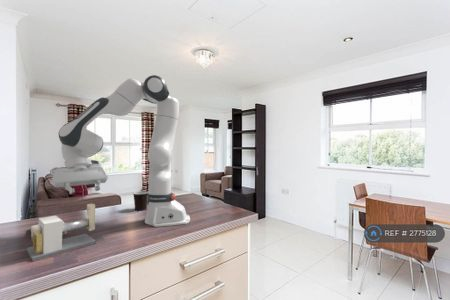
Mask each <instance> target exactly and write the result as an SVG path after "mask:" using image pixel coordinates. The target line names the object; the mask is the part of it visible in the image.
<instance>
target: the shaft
mask: <svg viewBox="0 0 450 300" xmlns="http://www.w3.org/2000/svg"><path fill="white" fill-rule="evenodd" d="M83 228H86V230H88V232H91V231H95V230H96V204H95V203H87V204H86V219H85V218H84V219H81V220H75V221H70V222H64V224H62V232H66V233H67V232H70V231H73V230H79V229H83Z"/></svg>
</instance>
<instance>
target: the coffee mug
mask: <svg viewBox="0 0 450 300" xmlns="http://www.w3.org/2000/svg"><path fill="white" fill-rule="evenodd" d="M148 192H149V191H135V192H133V203H134V210H135V211H136V212H137V211H138V212H141V211H145V210H147V209H148V204H147V196H148Z"/></svg>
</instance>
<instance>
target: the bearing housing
mask: <svg viewBox="0 0 450 300" xmlns="http://www.w3.org/2000/svg"><path fill="white" fill-rule="evenodd" d="M62 220H63V219H61V218H59V216H58V215H50V216H45V217H39V218H38V223H37V225H38V230H39V231H40V232H41V233H42V234H43V239H42V253H40V254H36V253H35V251H34V250H33V246H30V247H26V252H27V254H28V256H29V258H30V260H31V262H35V261H39V260H42V259H46V258H49V257H53V256H57V255H59V254H60V255H61V254H63V253H67V252H71V251H74V250H77V249H81V248H85V247H87V246H91V245H95V244H97V241H96V240H95V239H94V238H93V237H91V236H90V235H89V234H87V233H82V234H78V235H74V236H70V237H66V238H63V236H62Z"/></svg>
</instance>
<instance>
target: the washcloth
mask: <svg viewBox="0 0 450 300" xmlns="http://www.w3.org/2000/svg"><path fill="white" fill-rule="evenodd" d="M61 220H62V224H64V223H65V222H64V220H63V219H61ZM36 230H38V224H35V225H31V226H30V228H29V231H30V238H31V242H32V241H33V231H36ZM66 235H67V231H66V232H62V237H63V236H66Z"/></svg>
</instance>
